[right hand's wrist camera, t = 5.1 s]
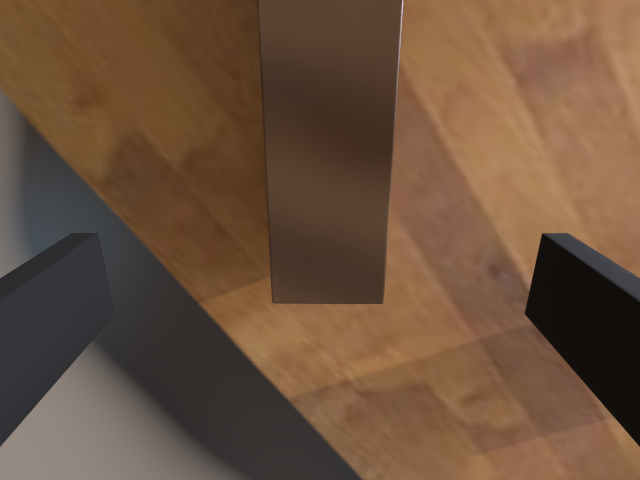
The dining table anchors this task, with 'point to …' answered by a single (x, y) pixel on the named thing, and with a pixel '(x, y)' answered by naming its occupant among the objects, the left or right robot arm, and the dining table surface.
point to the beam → (329, 144)
